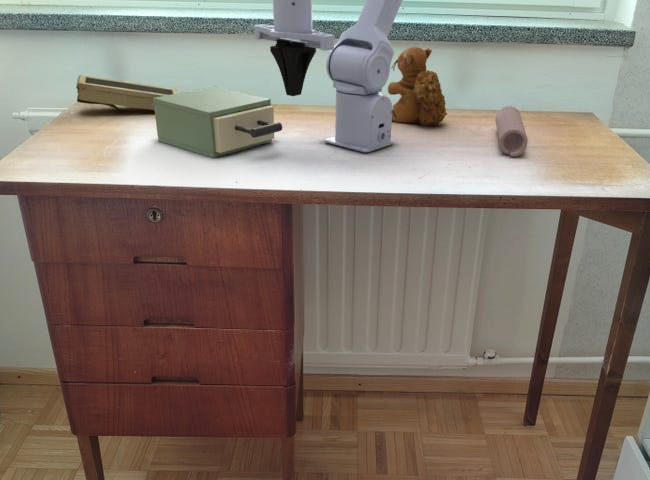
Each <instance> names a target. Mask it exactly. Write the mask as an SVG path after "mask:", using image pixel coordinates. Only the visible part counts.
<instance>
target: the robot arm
mask: <svg viewBox="0 0 650 480" xmlns="http://www.w3.org/2000/svg"><path fill="white" fill-rule="evenodd" d="M402 2H403V0H365V2H364V5H363V7H362V9H361V12H360V14H359V17H358V19H357V21H356V23H354V25H352V26H350V27H349V28H347V29H345V30H344V31H343V32H342V33H340V37H339V39H338V40H337V43H335V34H332V33H327V32H323V31H319V30H315V29H313V0H272V6H273V7H272V14H273V24H265V23H261V24H254V25H253V27H254V28H253V31H254V39H255V40H267V41H272V42H276V43H275V45H271V46H270V47H269V48H270V53H271V55H272V56H273V58H274V60H275V63H276V65H277V67H278V69H279V72H280V75H281V78H282V82H283V86H284V91H285V93H286V96H289V97H296V96H297V97H298V96H301V95H302V92H303V87H304V84H305V78H306V75H307V73H308V70H309V66H310V65H311V62H312V60H313V58H314V56H315V54H316V53H317V49H319V50H320V51H329V52H328V54H327V57H326V63H325V65H326V73H327V76H328V78H329V79H330V80H331V81H332V88H334V89H335V122H334V123H335V124H334V125H335V127H334V128H335V129H334V131H335V132H334V133H335V134H334V136H332V137H328V138H325V139H324V143H327V144H331V145H334V146H338V147H341V148H346V149H350V150H354V151H357V152H361V153H365V154H367V153H370V152H374V151H376V150H379V149H382V148H386V147H388V146H391V145H394V141H393V140H391V139H392V123H393V121H392V110H393V104H392V101H391V99H390V97H388V96H386V95H384V94H382V93H381V92H383V91H382V90H383V88H384V87H385V85H386V84H387V82H388V80H389V77H390V71H391V64H392V60H393V58H394V55H395V51H394V48H393V46H392V44H391V43H390V40H389V38H388V37H389V34H390V32H391V30H392V27H393V24H394V22H395V20H396V17H397V14H398V12H399V10H400V7H401V6H402Z"/></svg>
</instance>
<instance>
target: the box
mask: <svg viewBox="0 0 650 480" xmlns="http://www.w3.org/2000/svg"><path fill="white" fill-rule="evenodd" d="M75 88H76V91H77V92H76V93H77V97H76V102H77V103H81V104H86V105H87V104H89V105H102V106H103V105H104V106H107V107H110V108H113V109H115V110H117V111H119V112H122V110H121V109H120V107H127V108H135V109H142V110H150V111H155V110H154V101H153V98H156V97H161V96H166V95H172V94H177V93H180V91H179V89H178V88H173V87H167V86H166V87H165V86H160V85H153V84H152V85H150V84H146V83H139V82H132V81H126V80H118V79H112V78H103V77H98V76H90V75H85V74H84V75H83V74H79V75H78V77H77V81H76V86H75ZM118 106H120V107H118Z"/></svg>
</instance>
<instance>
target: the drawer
mask: <svg viewBox="0 0 650 480" xmlns="http://www.w3.org/2000/svg"><path fill="white" fill-rule="evenodd" d="M274 109H275V108H274V106H272V105H271V106H269V105H268V106H264V107H256V108H251V109H247V110H242V111H238V112H237V113H233V114H229V115H224V116H222V115H220V116H215V117H214V118H213V124H214V137H215V150H216V152H219V153H222V152H226V151H230V150H233V149H237V148H241V147H244V146H248V145H252V144H255V143H259V142H263V141H266V140H270V139H272V140H274V139H275V133H278V132H281V131H283V124H282V123H281V122H279V121H277V122H275V112H274Z"/></svg>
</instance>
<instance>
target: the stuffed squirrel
mask: <svg viewBox="0 0 650 480" xmlns="http://www.w3.org/2000/svg"><path fill="white" fill-rule="evenodd" d="M432 52H433V50H432V49H431V48H430V47H429V48H425V49H423V48H421V47H418V46H410V47H408V48H406V49H405V50H403V51H402V52H401V53H400V54H399V55H398V57H397V59H396V60H395V61H394V62H393V63H392V65H391V66H390V70H391V69H392V71H393V72H395V67H396V66H397V68H398V70H399V71H400V73H401V76H402V77H401V79H400V80H399V81H393V82H392V81H391V82H390V83H389V84H388V86H387V93H388V95H391V96H396V95H400V97H399V99H398V101H397V102H396V103H394V104H392V122H396V123H404V124H407V123H408V124H415V123H418V124H419V125H421V126H427V127H428V126H432V125H433V126H434V125H439V124H440V123H441V122H443V121H444V119H445V117H446V116H447V115H448V114H449V113H447V111H446V110H447V109H446V99H445V95H444V94H443V92H442V91H443V89H442V88H441V82H440V80H439V76H438V73H437V72H435V71H433V70H429V69H427V60H428V59H429V58H430V56H431V54H432Z"/></svg>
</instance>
